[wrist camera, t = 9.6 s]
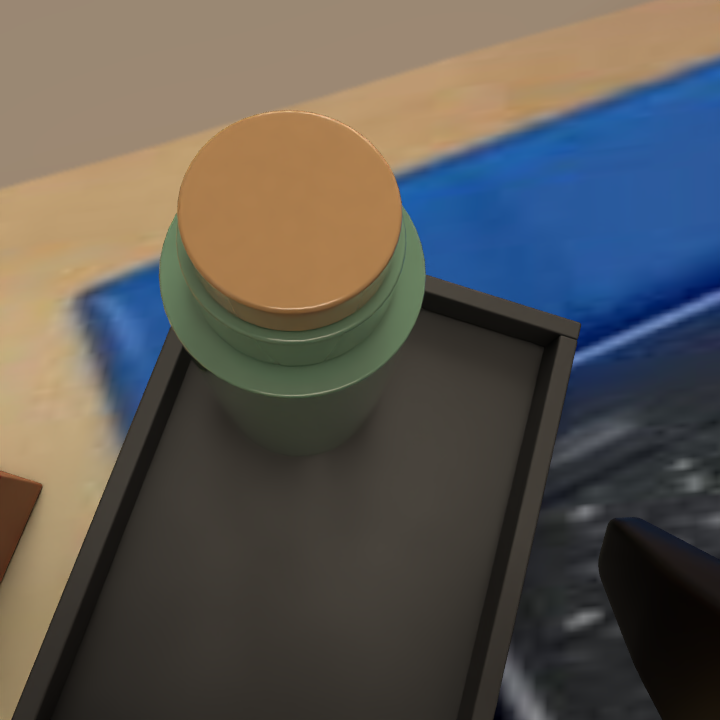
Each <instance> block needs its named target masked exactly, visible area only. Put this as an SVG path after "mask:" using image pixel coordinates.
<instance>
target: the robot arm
mask: <svg viewBox="0 0 720 720" xmlns="http://www.w3.org/2000/svg"><path fill="white" fill-rule="evenodd" d="M598 567H599V574H600V578H601V581H602V583H603V586H604V588H605V591H606V594H607V596H608V599H609V601H610V604H611V607H612V609H613V612H614V614H615V617H616V620H617V622H618V625H619V627H620V630H621V633H622V635H623V638H624V640H625V643H626V646H627V648H628V651H629V653H630V656H631V658H632V660H633V663H634V665H635V667H636V669H637V671H638V673H639V676H640V678H641V680H642V682H643V684H644V686H645V687H646V689H647V691H648V693H649V695H650V697H651V699H652V701H653V703H654V705H655V707H656V709H657V711H658V712H659V714H660V716H661V718H662V720H720V560H719V559H717V558H715V557H713V556H711V555H709V554H708V553H706V552H704V551H702V550H700V549H698V548H696V547H694V546H692V545H690V544H688V543H686V542H685V541H683V540H681V539H679V538H677V537H675V536H673V535H671V534H669V533H667V532H665V531H664V530H662V529H660V528H658V527H656V526H654V525H652V524H650V523H648V522H646V521H644V520H643V519H640V518H636V517H632V518H615V519H612V520H611V521H610V522H609V523H608V526H607V529H606V533H605V537H604V541H603V544H602V548H601V552H600V556H599V562H598Z"/></svg>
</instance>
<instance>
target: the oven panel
mask: <svg viewBox="0 0 720 720" xmlns="http://www.w3.org/2000/svg"><path fill="white" fill-rule="evenodd" d="M41 488H42V484H41V483H38V482H34V481H31V480H28V479H25V478H22V477H19V476H16V475H12V474H9V473H6V472H3V471H0V583H1V580H2V578H3V576H4V573H5V571H6V569H7V566H8V564H9V562H10V559H11V557H12V555H13V553H14V550H15V548H16V546H17V543H18V541H19V539H20V536H21V534H22V532H23V529H24V527H25V525H26V522H27V520H28V518H29V516H30V513H31V511H32V509H33V506H34V504H35V502H36V499H37V497H38V495H39V492H40V490H41Z"/></svg>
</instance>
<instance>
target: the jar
mask: <svg viewBox="0 0 720 720" xmlns="http://www.w3.org/2000/svg"><path fill="white" fill-rule="evenodd" d="M425 280H426V272H425V259H424V254H423V249H422V245H421V242H420V239H419V236H418V233H417V230H416V228H415V226H414V224H413V222H412V220H411V218H410V216H409V215H408V213H407V212H406V210H405V209H404V207H403V206H402V201H401V196H400V191H399V187H398V185H397V182H396V179H395V176H394V174H393V172H392V170H391V169H390V167H389V165H388V163H387V162H386V160H385V159H384V157H383V156H382V155H381V153H380V152H379V151H378V150H377V149H376V148H375V146H374V145H373V144H372V143H371V142H370V141H368V140H367V139H366V138H365V137H364V136H363V135H362V134H360V133H359V132H357V131H356V130H354V129H353V128H351V127H349V126H348V125H346V124H344V123H342V122H340V121H338V120H335V119H332V118H330V117H327V116H324V115H320V114H316V113H312V112H305V111H295V110H282V111H271V112H266V113H261V114H256V115H253V116H250V117H247V118H244V119H242V120H240V121H238V122H236V123H233V124H231V125H230V126H228V127H226V128H225V129H223V130H222V131H220V132H219V133H217V134H216V135H215V136H214V137H213V138H211V139H210V140H209V141H208V142H207V143H206V144H205V145H204V146H203V147H202V148H201V150H200V151H199V152H198V153H197V155H196V156H195V158H194V159H193V160H192V162H191V164H190V166H189V168H188V170H187V172H186V173H185V176H184V178H183V181H182V184H181V187H180V192H179V197H178V206H177V214H176V215H175V217H174V219H173V221H172V223H171V225H170V227H169V229H168V232H167V235H166V238H165V240H164V243H163V247H162V253H161V258H160V269H159V281H160V292H161V297H162V301H163V305H164V309H165V312H166V314H167V317H168V319H169V322H170V324H171V326H172V328H173V330H174V332H175V333H176V335H177V337H178V339H179V340H180V342H181V343H182V345H183V346H184V348H185V350H186V351H187V353H188V354H189V356H190V357H191V359H192V360H193V362H194V364H195V365H196V367H197V368H198V370H199V371H200V373H201V374H202V376H203V377H204V379H205V381H206V382H207V384H208V385H209V387H210V388H211V390H212V391H213V393H214V394H215V396H216V398H217V399H218V401H219V402H220V404H221V405H222V407H223V408H224V410H225V412H226V413H227V415H228V416H229V418H230V419H231V421H232V422H233V424H234V425H235V426H236V427H237V429H238V430H239V431H240V432H241V433H242V434H243V435H244V436H245V437H246V438H248V439H249V440H250V441H252V442H253V443H254V444H256V445H258V446H260V447H262V448H263V449H266V450H268V451H271V452H273V453H277V454H281V455H286V456H295V457H298V456H312V455H318V454H321V453H324V452H328V451H330V450H332V449H335V448H337V447H339V446H340V445H342V444H344V443H345V442H347V441H348V440H349V439H350V438H352V437H353V436H354V435H355V434H356V433H357V432H358V431H359V430H360V429H361V428H362V427H363V425H364V424H365V423H366V421H367V420H368V418H369V417H370V415H371V413H372V411H373V409H374V407H375V405H376V403H377V401H378V399H379V397H380V395H381V393H382V391H383V389H384V387H385V385H386V383H387V380H388V378H389V376H390V374H391V372H392V370H393V368H394V366H395V364H396V362H397V360H398V358H399V356H400V354H401V352H402V350H403V348H404V346H405V344H406V342H407V340H408V338H409V336H410V333H411V331H412V329H413V327H414V325H415V323H416V320H417V318H418V315H419V312H420V310H421V306H422V302H423V297H424V293H425Z"/></svg>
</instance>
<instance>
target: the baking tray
mask: <svg viewBox="0 0 720 720" xmlns="http://www.w3.org/2000/svg"><path fill="white" fill-rule="evenodd" d="M580 328H581V323H579V322H575V321H572V320H569V319H566V318H563V317H559V316H556V315H553V314H550V313H547V312H543V311H540V310H537V309H534V308H531V307H527V306H524V305H521V304H518V303H515V302H511V301H508V300H505V299H502V298H499V297H495V296H492V295H489V294H486V293H483V292H479V291H476V290H473V289H470V288H467V287H464V286H460V285H457V284H454V283H451V282H448V281H444V280H441V279H438V278H435V277H432V276H428V275H426V280H425V293H424V297H423V302H422V306H421V310H420V312H419V315H418V318H417V320H416V323H415V325H414V327H413V329H412V331H411V333H410V336H409V338H408V340H407V342H406V344H405V346H404V348H403V350H402V352H401V354H400V356H399V358H398V360H397V362H396V364H395V366H394V368H393V370H392V372H391V374H390V376H389V378H388V380H387V383H386V385H385V387H384V389H383V391H382V393H381V395H380V397H379V399H378V401H377V403H376V405H375V407H374V409H373V411H372V413H371V415H370V417H369V418H368V420H367V421H366V423H365V424H364V425H363V427H362V428H361V429H360V430H359V431H358V432H357V433H356V434H355V435H354V436H353V437H352V438H350V439H349V440H348V441H347V442H345V443H344V444H342V445H340V446H339V447H337V448H335V449H332V450H330V451H328V452H324V453H321V454H318V455H312V456H298V457H295V456H286V455H281V454H277V453H273V452H271V451H268V450H266V449H263V448H262V447H260V446H258V445H256V444H254V443H253V442H252V441H250V440H249V439H248V438H246V437H245V436H244V435H243V434H242V433H241V432H240V431H239V430H238V429H237V427H236V426H235V425H234V424H233V422H232V421H231V419H230V418H229V416H228V415H227V413H226V412H225V410H224V408H223V407H222V405H221V404H220V402H219V401H218V399H217V398H216V396H215V394H214V393H213V391H212V390H211V388H210V387H209V385H208V384H207V382H206V381H205V379H204V377H203V376H202V374H201V373H200V371H199V370H198V368H197V367H196V365H195V364H194V362H193V360H192V359H191V357H190V356H189V354H188V353H187V351H186V350H185V348H184V346H183V345H182V343H181V342H180V340H179V339H178V337H177V335H176V333H175V332H174V330H173V328H172V326H171V327H170V330H169V332H168V335H167V337H166V340H165V342H164V345H163V347H162V350H161V352H160V355H159V357H158V359H157V362H156V364H155V367H154V369H153V372H152V374H151V377H150V379H149V382H148V384H147V387H146V389H145V392H144V394H143V396H142V399H141V401H140V404H139V406H138V409H137V411H136V414H135V416H134V419H133V421H132V424H131V426H130V429H129V431H128V433H127V436H126V438H125V441H124V443H123V446H122V448H121V451H120V453H119V456H118V458H117V461H116V463H115V465H114V468H113V470H112V473H111V475H110V478H109V480H108V483H107V485H106V488H105V490H104V493H103V495H102V498H101V500H100V502H99V505H98V507H97V510H96V512H95V515H94V517H93V520H92V522H91V525H90V527H89V530H88V532H87V534H86V537H85V539H84V542H83V544H82V547H81V549H80V552H79V554H78V557H77V559H76V562H75V564H74V567H73V569H72V571H71V574H70V576H69V579H68V581H67V584H66V586H65V589H64V591H63V594H62V596H61V599H60V601H59V603H58V606H57V608H56V611H55V613H54V616H53V618H52V621H51V623H50V626H49V628H48V631H47V633H46V636H45V638H44V640H43V643H42V645H41V648H40V650H39V653H38V655H37V658H36V660H35V663H34V665H33V668H32V670H31V672H30V675H29V677H28V680H27V682H26V685H25V687H24V690H23V692H22V695H21V697H20V700H19V702H18V705H17V707H16V709H15V712H14V714H13V717H12V719H11V720H493V718H494V713H495V709H496V704H497V700H498V695H499V691H500V686H501V682H502V678H503V673H504V669H505V664H506V660H507V655H508V651H509V646H510V642H511V637H512V633H513V628H514V624H515V619H516V615H517V610H518V606H519V601H520V597H521V592H522V588H523V583H524V579H525V574H526V570H527V565H528V561H529V556H530V552H531V547H532V543H533V538H534V534H535V529H536V525H537V521H538V516H539V512H540V507H541V503H542V498H543V494H544V489H545V485H546V480H547V476H548V471H549V467H550V462H551V458H552V453H553V449H554V444H555V440H556V435H557V431H558V426H559V422H560V417H561V413H562V408H563V404H564V399H565V395H566V390H567V386H568V381H569V377H570V373H571V368H572V364H573V359H574V355H575V350H576V346H577V339H578V336H579V332H580Z"/></svg>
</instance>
